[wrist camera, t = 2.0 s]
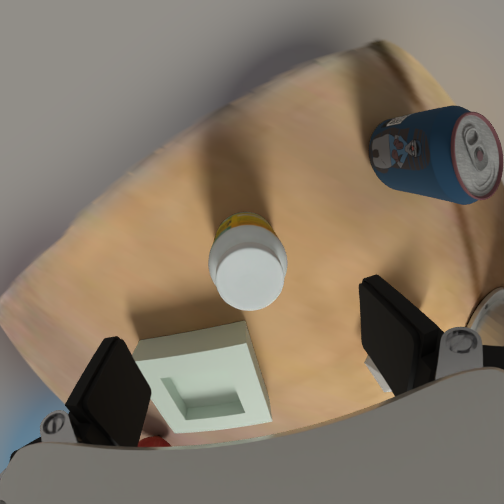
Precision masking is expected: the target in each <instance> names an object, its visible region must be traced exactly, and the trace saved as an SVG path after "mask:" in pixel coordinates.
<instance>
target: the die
mask: <svg viewBox="0 0 504 504" xmlns="http://www.w3.org/2000/svg"><path fill="white" fill-rule="evenodd" d="M364 363H365V364H366V366H367V367H368V369H369V370H370V372H371V373H372V375H373V376H374V378H375V379H376V381H377V382H378V384H379V385H380V387H381V388H382V390H383V391H384V392H392V390H391V389H390V387H389V386H388V384H387V383H386V381H385V380H384V378H383V376H382V375H381V373H380V372H379V370H378V369H377V367H376V366H375V364H374V363H373V361H372V360H371V358H370V357H369V355H368V356H367V358H366V360H365V362H364Z"/></svg>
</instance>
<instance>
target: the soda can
mask: <svg viewBox="0 0 504 504" xmlns="http://www.w3.org/2000/svg"><path fill="white" fill-rule="evenodd" d="M369 157H370V162H371V165H372V167H373V170H374V172H375V173H376V175H377V176H378V178H379V179H380V180H381V181H382V182H383V183H384V184H385V185H387V186H388V187H390V188H392V189H395V190H399V191H404V192H409V193H414V194H419V195H423V196H428V197H432V198H437V199H441V200H445V201H450V202H454V203H458V204H462V205H467V204H471V203H473V202H476V201H477V200H485V199H488V198H489V197H491V196H492V195H493V194H494V193H495V192H496V190H497V188H498V186H499V184H500V181H501V177H502V172H503V153H502V147H501V143H500V140H499V138H498V135H497V133H496V131H495V129H494V127H493V126H492V124H491V123H490V122H489V121H488V120H487V119H486V118H485V117H484V116H483V115H481V114H479V113H476V112H470V111H469V110H467V109H465V108H463V107H460V106H447V107H442V108H437V109H432V110H427V111H423V112H418V113H413V114H409V115H405V116H401V117H396V118H392V119H388V120H386V121H384V122H382V123H381V124H380V125H378V126H377V128H376V129H375V130H374V132H373V134H372V136H371V139H370V144H369Z"/></svg>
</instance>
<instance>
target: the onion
mask: <svg viewBox="0 0 504 504" xmlns="http://www.w3.org/2000/svg"><path fill="white" fill-rule="evenodd" d="M138 447H172V446H171V445H170V444H169V443H168V442H167V441H165V440H164V439H162V438H161V437H160V436H153V437H147V438H144V439H142V440H141V441H139V443H138Z"/></svg>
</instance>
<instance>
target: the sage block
mask: <svg viewBox="0 0 504 504" xmlns="http://www.w3.org/2000/svg"><path fill="white" fill-rule="evenodd" d="M132 357H133V358H134V360H135V362H136V364H137V365H138V367H139V369H140V371H141V372H142V374H143V376H144V377H145V379H146V381H147V382H148V384H149V386H150V388H151V392H152V394H151V400H152V401H153V403H154V404H155V406H156V407H157V409H158V410H159V412H160V413H161V415H162V416H163V418H164V419H165V420H166V422H167V423H168V425H169V426H170V427H171V429H172V430H173V432H174V433H189V432H202V431H212V430H221V429H229V428H236V427H243V426H249V425H255V424H261V423H266V422H271V421H272V415H271V408H270V401H269V396H268V393H267V390H266V387H265V384H264V380H263V377H262V374H261V371H260V368H259V364H258V361H257V358H256V355H255V351H254V348H253V345H252V342H251V338H250V335H249V332H248V328H247V325H246V322H245V320H244V321H240V322H235V323H231V324H226V325H221V326H216V327H211V328H206V329H201V330H196V331H191V332H186V333H180V334H175V335H169V336H163V337H157V338H151V339H145V340H139V342H138V344H137V346H136V348H135V350H134V352H133V354H132Z"/></svg>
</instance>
